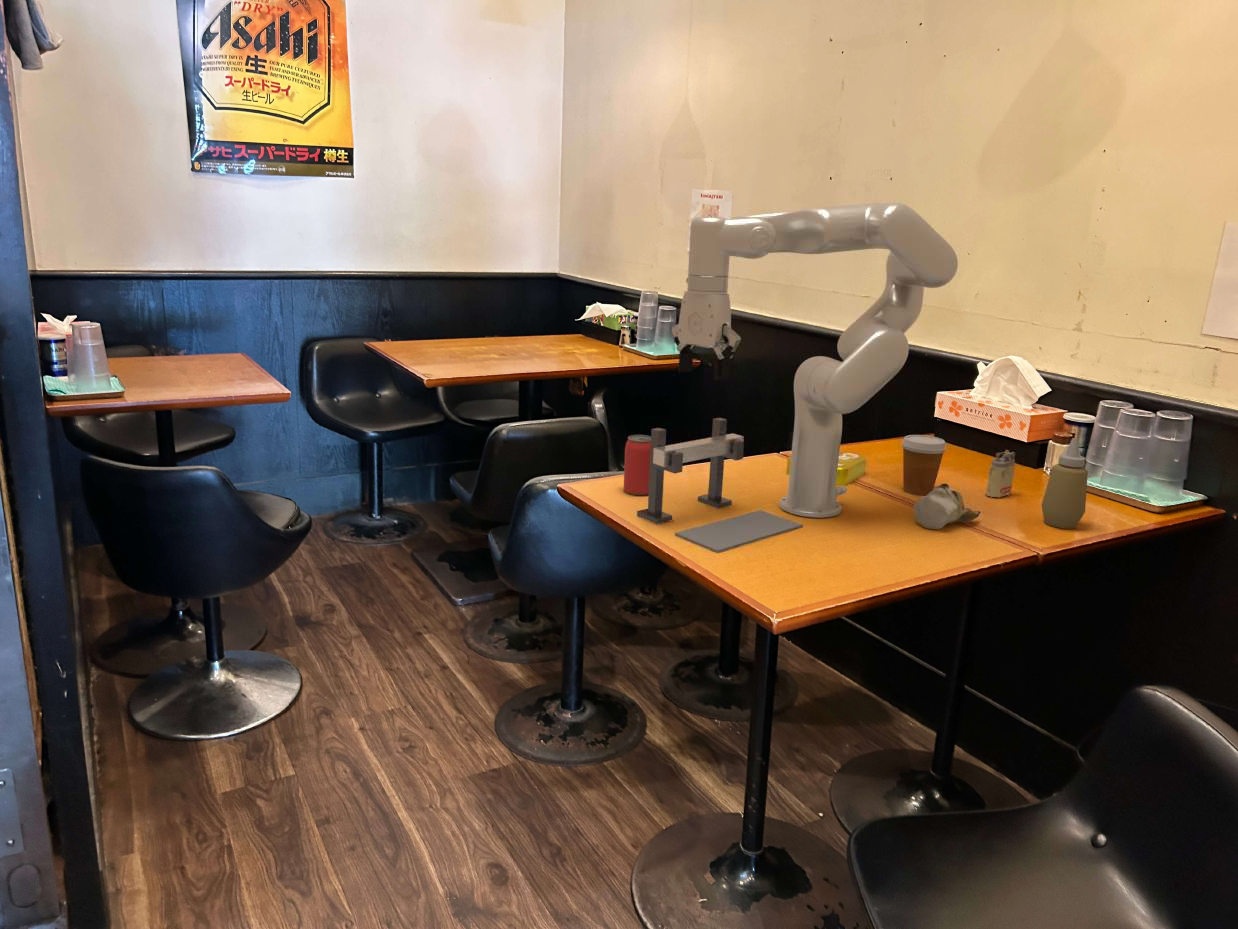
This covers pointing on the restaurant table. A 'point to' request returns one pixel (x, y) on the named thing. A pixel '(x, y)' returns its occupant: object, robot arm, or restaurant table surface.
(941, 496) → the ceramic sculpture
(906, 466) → the disposable coffee cup
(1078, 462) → the squeeze bottle
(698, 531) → the mat
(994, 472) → the lighter
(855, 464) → the element tile
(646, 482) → the beer can
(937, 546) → the restaurant table surface
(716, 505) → the hook stand
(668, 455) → the rail
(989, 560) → the restaurant table surface
